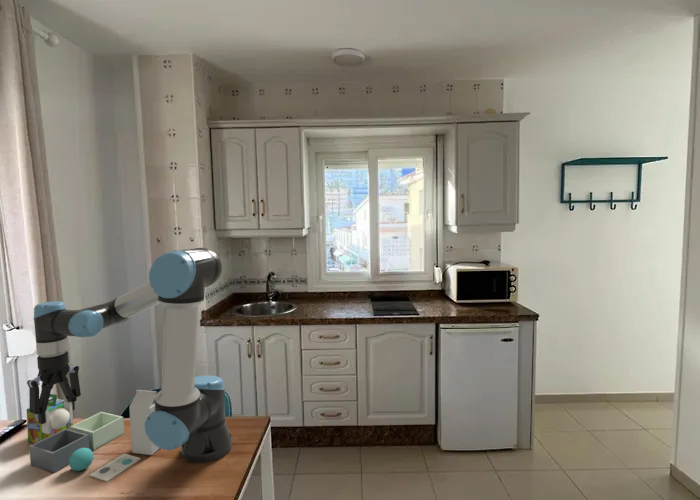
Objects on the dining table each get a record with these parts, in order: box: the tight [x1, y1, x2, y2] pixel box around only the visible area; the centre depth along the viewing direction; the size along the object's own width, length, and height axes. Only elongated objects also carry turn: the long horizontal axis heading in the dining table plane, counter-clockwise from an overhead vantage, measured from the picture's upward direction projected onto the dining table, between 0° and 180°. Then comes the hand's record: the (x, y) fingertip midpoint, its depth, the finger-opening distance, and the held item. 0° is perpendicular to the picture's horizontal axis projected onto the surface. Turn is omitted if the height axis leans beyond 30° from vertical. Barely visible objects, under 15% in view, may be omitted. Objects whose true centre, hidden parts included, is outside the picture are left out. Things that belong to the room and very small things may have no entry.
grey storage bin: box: [28, 429, 90, 474], centre depth 122 cm, size 11×11×6 cm
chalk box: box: [26, 393, 74, 444], centre depth 134 cm, size 9×9×15 cm
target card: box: [89, 453, 141, 483], centre depth 118 cm, size 7×11×1 cm, turn 158°
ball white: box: [49, 408, 70, 429], centre depth 121 cm, size 6×6×6 cm
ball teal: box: [68, 448, 94, 472], centre depth 117 cm, size 6×6×6 cm
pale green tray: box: [70, 411, 125, 452], centre depth 133 cm, size 11×11×6 cm
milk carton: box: [129, 389, 161, 456], centre depth 127 cm, size 7×7×19 cm
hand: (58, 427), depth 122 cm, fingers closed on ball white, 6 cm apart
